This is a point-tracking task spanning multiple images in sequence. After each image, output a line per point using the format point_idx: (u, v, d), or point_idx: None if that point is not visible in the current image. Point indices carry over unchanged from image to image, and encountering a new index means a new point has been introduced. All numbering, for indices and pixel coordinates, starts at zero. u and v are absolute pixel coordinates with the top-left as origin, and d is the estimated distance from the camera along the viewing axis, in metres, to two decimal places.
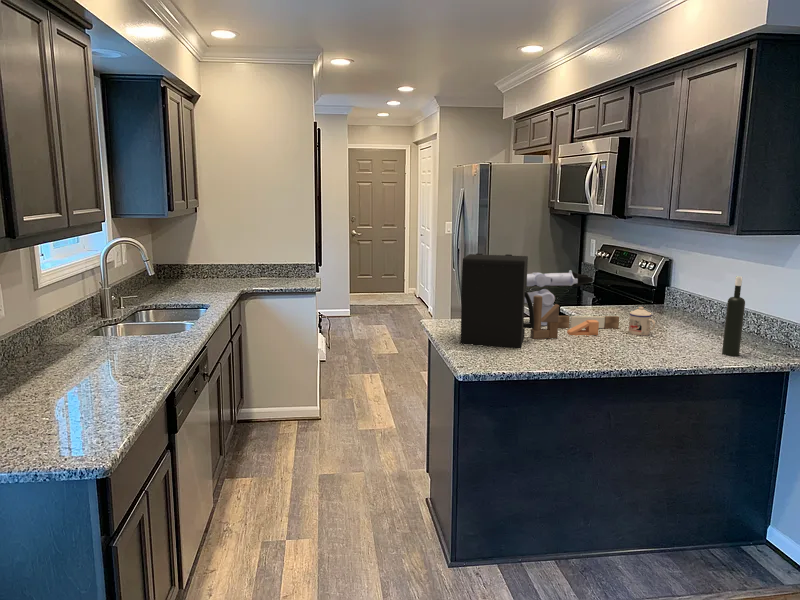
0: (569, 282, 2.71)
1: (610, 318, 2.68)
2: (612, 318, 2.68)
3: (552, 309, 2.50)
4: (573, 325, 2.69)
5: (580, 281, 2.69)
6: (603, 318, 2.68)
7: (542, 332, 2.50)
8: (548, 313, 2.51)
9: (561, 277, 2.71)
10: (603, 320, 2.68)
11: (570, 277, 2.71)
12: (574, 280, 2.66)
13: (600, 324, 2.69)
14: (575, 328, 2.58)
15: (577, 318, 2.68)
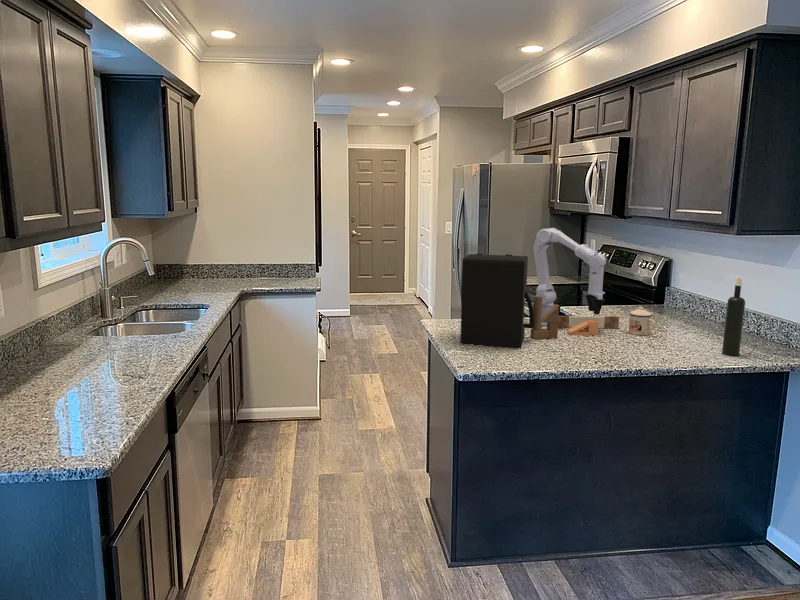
0: (594, 291, 2.58)
1: (610, 318, 2.68)
2: (612, 318, 2.68)
3: (552, 309, 2.50)
4: (573, 325, 2.69)
5: (596, 302, 2.57)
6: (603, 318, 2.68)
7: (542, 332, 2.50)
8: (548, 313, 2.51)
9: (600, 283, 2.57)
10: (603, 320, 2.68)
11: (599, 292, 2.58)
12: (600, 296, 2.53)
13: (600, 324, 2.69)
14: (575, 328, 2.58)
15: (577, 318, 2.68)
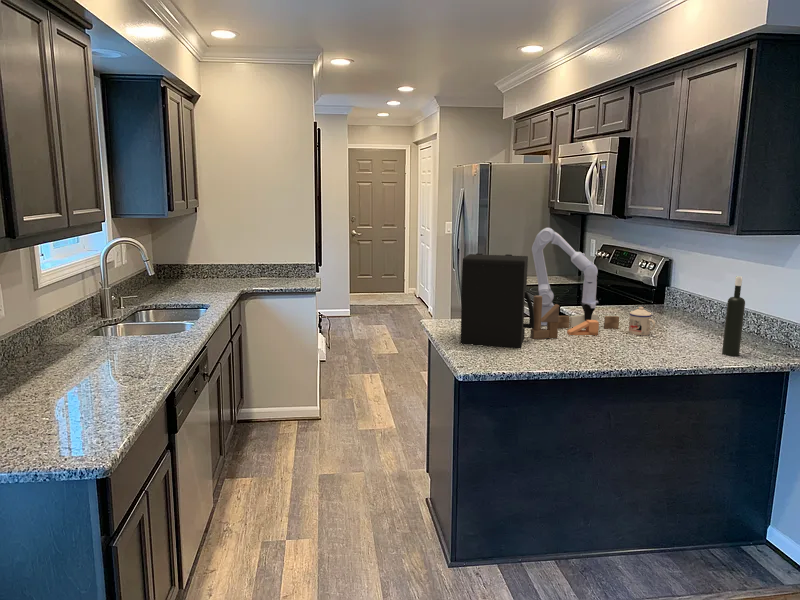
0: (587, 300, 2.67)
1: (610, 318, 2.68)
2: (612, 318, 2.68)
3: (552, 309, 2.50)
4: (573, 325, 2.69)
5: (587, 309, 2.70)
6: (596, 315, 2.74)
7: (542, 332, 2.50)
8: (548, 313, 2.51)
9: (593, 292, 2.66)
10: (596, 317, 2.74)
11: (593, 301, 2.67)
12: (593, 305, 2.62)
13: None
14: (575, 328, 2.58)
15: (576, 317, 2.70)
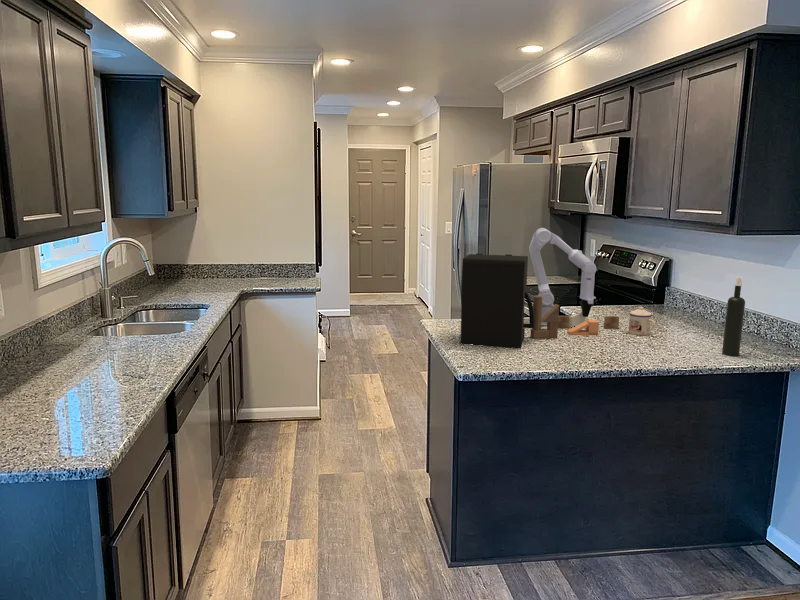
0: (585, 296, 2.70)
1: (610, 318, 2.68)
2: (612, 318, 2.68)
3: (552, 309, 2.50)
4: (572, 324, 2.70)
5: (585, 305, 2.73)
6: None
7: (542, 332, 2.50)
8: (548, 313, 2.51)
9: (591, 288, 2.70)
10: None
11: (590, 297, 2.70)
12: (591, 301, 2.66)
13: (584, 319, 2.79)
14: (575, 328, 2.58)
15: (574, 317, 2.71)
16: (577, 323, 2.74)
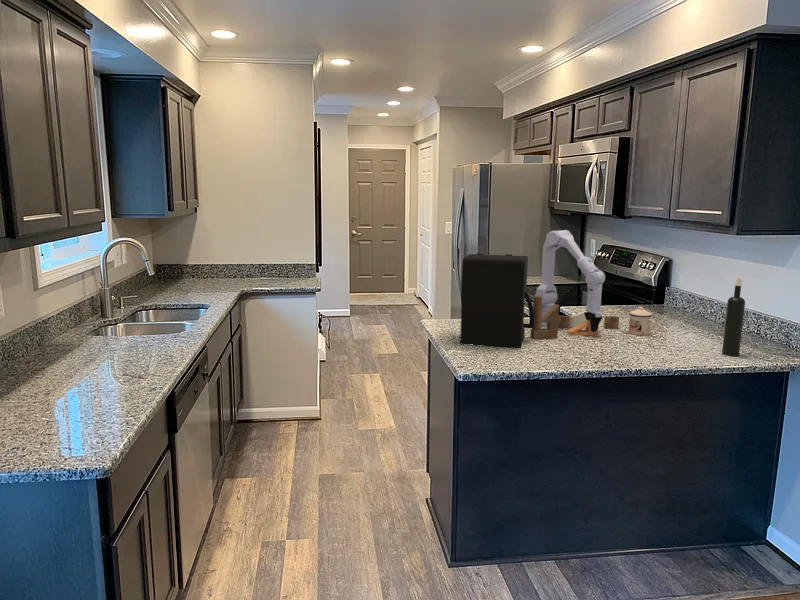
0: (592, 309, 2.54)
1: (610, 318, 2.68)
2: (612, 318, 2.68)
3: (552, 309, 2.50)
4: (572, 324, 2.70)
5: (593, 319, 2.54)
6: None
7: (542, 332, 2.50)
8: (548, 313, 2.51)
9: (598, 300, 2.53)
10: None
11: (597, 310, 2.54)
12: (598, 314, 2.49)
13: (584, 319, 2.79)
14: (575, 328, 2.58)
15: (574, 317, 2.71)
16: (577, 323, 2.74)
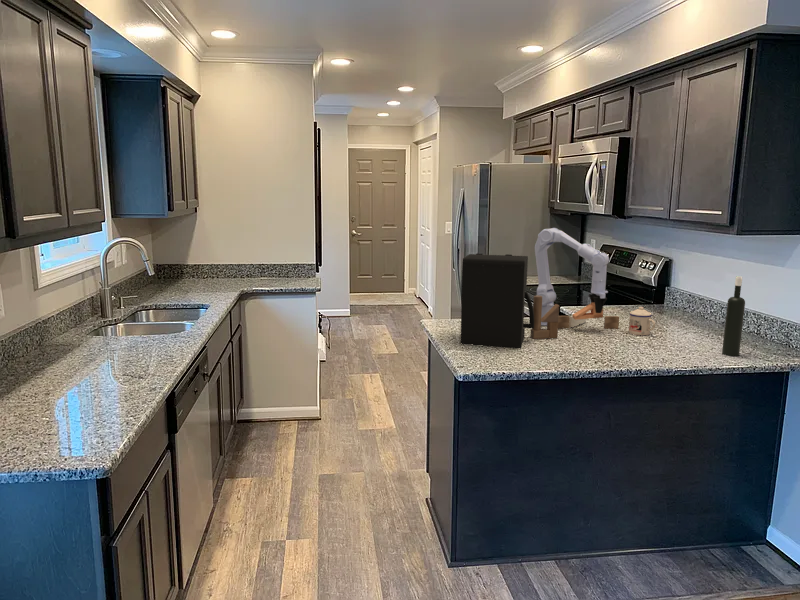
0: (597, 290, 2.58)
1: (610, 318, 2.68)
2: (612, 318, 2.68)
3: (552, 309, 2.50)
4: (572, 324, 2.70)
5: (598, 301, 2.58)
6: None
7: (542, 332, 2.50)
8: (548, 313, 2.51)
9: (603, 282, 2.57)
10: None
11: (602, 291, 2.58)
12: (603, 295, 2.53)
13: (584, 319, 2.79)
14: (580, 312, 2.62)
15: None
16: (577, 323, 2.74)
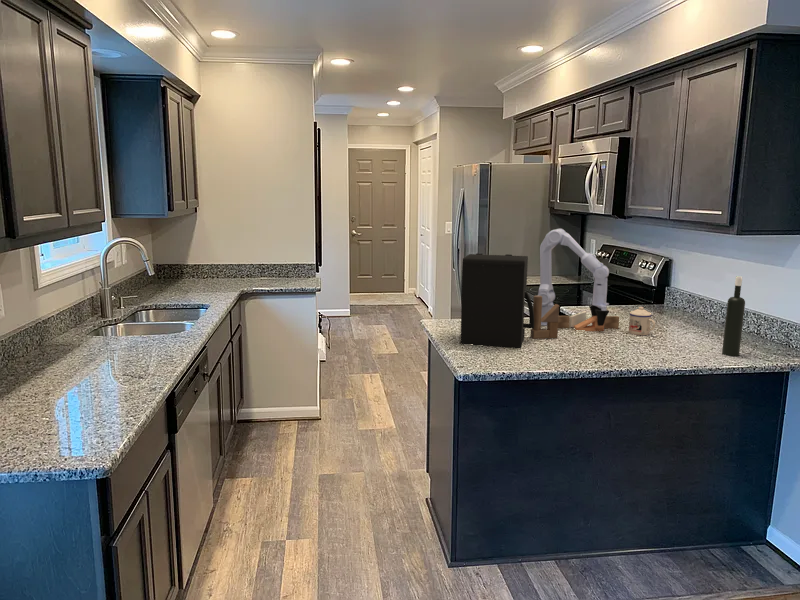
0: (598, 303, 2.62)
1: (610, 318, 2.68)
2: (612, 318, 2.68)
3: (552, 309, 2.50)
4: (572, 324, 2.70)
5: (600, 313, 2.61)
6: (585, 313, 2.79)
7: (542, 332, 2.50)
8: (548, 313, 2.51)
9: (604, 294, 2.61)
10: (585, 314, 2.79)
11: (603, 303, 2.62)
12: (604, 307, 2.57)
13: (584, 319, 2.79)
14: (581, 324, 2.66)
15: (574, 317, 2.71)
16: (577, 323, 2.74)
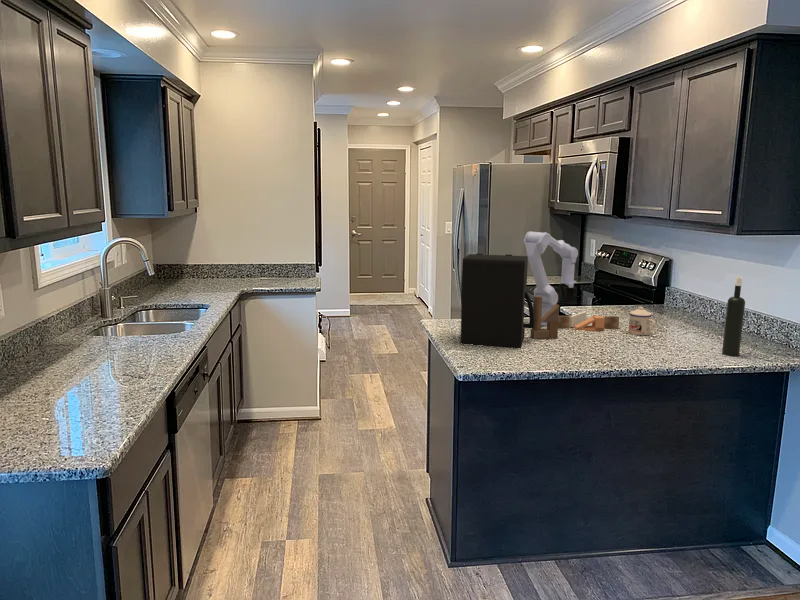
0: (566, 280, 2.81)
1: (610, 318, 2.68)
2: (612, 318, 2.68)
3: (552, 309, 2.50)
4: (572, 324, 2.70)
5: (568, 290, 2.80)
6: (585, 313, 2.79)
7: (542, 332, 2.50)
8: (548, 313, 2.51)
9: (571, 273, 2.81)
10: (585, 314, 2.79)
11: (571, 281, 2.81)
12: (571, 284, 2.77)
13: (584, 319, 2.79)
14: (581, 324, 2.66)
15: (574, 317, 2.71)
16: (577, 323, 2.74)
